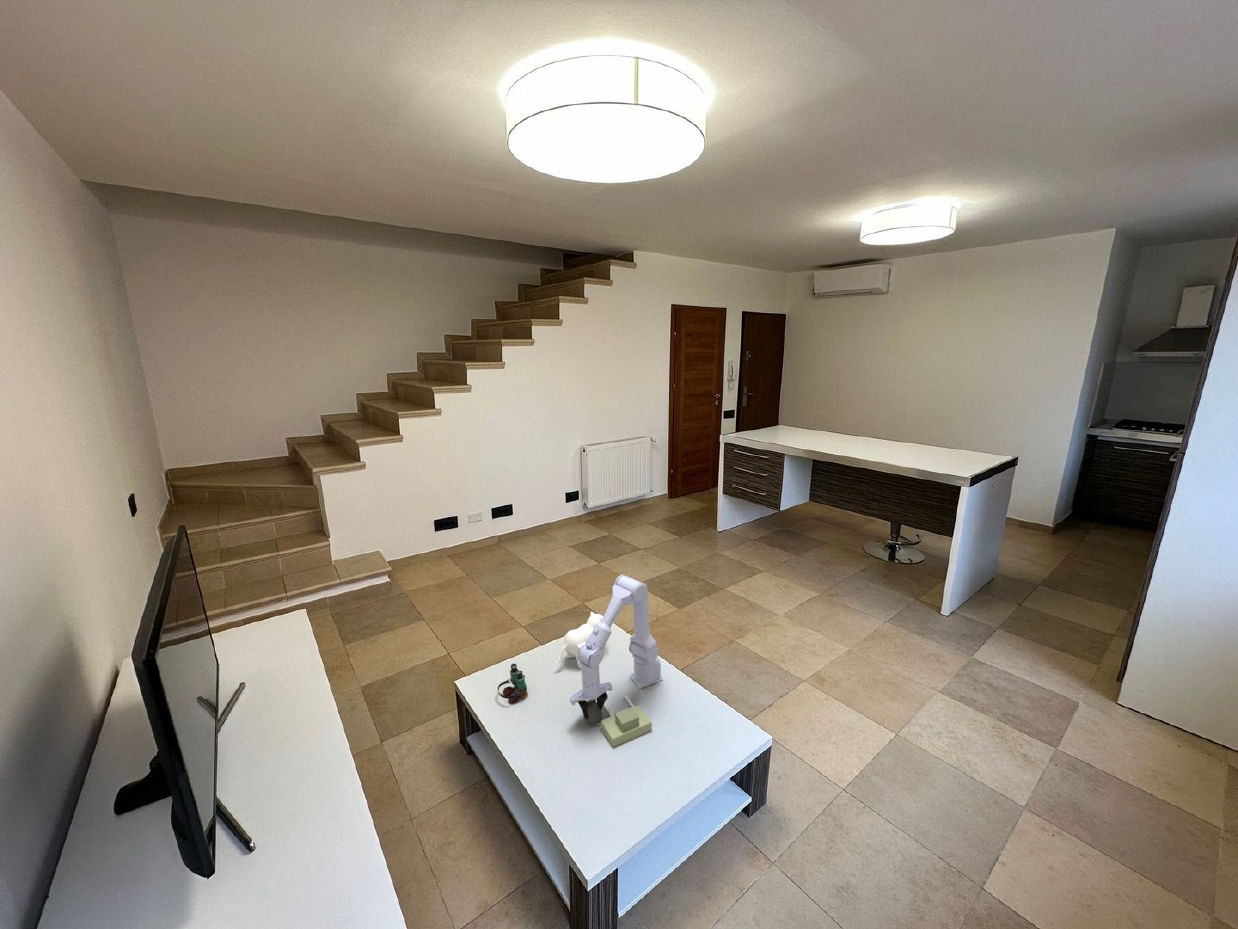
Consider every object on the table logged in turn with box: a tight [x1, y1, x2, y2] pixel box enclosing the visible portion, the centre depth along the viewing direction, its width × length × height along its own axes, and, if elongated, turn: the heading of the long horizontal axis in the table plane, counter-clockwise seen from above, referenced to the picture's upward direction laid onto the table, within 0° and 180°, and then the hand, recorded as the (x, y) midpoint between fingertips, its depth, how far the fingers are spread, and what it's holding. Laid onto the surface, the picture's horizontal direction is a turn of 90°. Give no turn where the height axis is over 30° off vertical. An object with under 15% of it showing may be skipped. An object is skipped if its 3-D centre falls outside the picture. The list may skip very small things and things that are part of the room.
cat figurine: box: [555, 611, 604, 669], centre depth 190 cm, size 25×10×17 cm, turn 129°
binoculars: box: [497, 663, 529, 704], centre depth 172 cm, size 9×11×10 cm
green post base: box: [600, 694, 653, 748], centre depth 160 cm, size 14×16×6 cm
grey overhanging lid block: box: [585, 699, 604, 728], centre depth 161 cm, size 4×6×5 cm
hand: (592, 714), depth 162 cm, fingers closed on grey overhanging lid block, 4 cm apart
